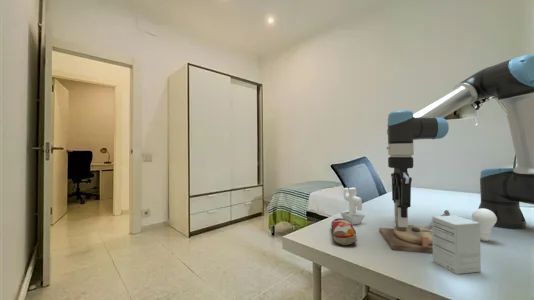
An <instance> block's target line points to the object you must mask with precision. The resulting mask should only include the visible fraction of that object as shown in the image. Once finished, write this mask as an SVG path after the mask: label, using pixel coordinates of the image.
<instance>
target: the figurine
mask: <svg viewBox="0 0 534 300" xmlns="http://www.w3.org/2000/svg"><path fill="white" fill-rule="evenodd" d="M357 193H358V192H357V188H356V187H349V188H348V187H344V188H343V198H344V200H345V201H347V202H348V211H347V212H340V215H341V217H342V219H346V220H349V221H350V222H351V223H352V225H360V224H361V223H362V222H363V220H364V218H365V217H366V215H365V214H363V213H359V212H357V211H362V209H363V200H362V198H361V197H360V196H357Z"/></svg>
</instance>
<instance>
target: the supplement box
mask: <svg viewBox="0 0 534 300" xmlns="http://www.w3.org/2000/svg"><path fill="white" fill-rule="evenodd" d="M431 218H432V220H431V221H432V222H431V223H432V234H433V253H432V261H433V262H434V263H436V264H437V265H439V266H441V267H443V268H444V269H447V270H448V271H450V272H452V273H454V274H456V275H460V274H461V275H463V274H468V273H481V271H482V270H481V269H482V265H481V264H482V263H481V261H482V260H481V256H482V255H481V239H480V223H478V222H475V221H474V220H473V219H468V218H464V217H460V216H457V215H455V214H453V215H450V216H441V215H440V216H439V215H438V216H432V217H431Z"/></svg>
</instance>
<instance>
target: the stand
mask: <svg viewBox="0 0 534 300" xmlns="http://www.w3.org/2000/svg"><path fill="white" fill-rule="evenodd" d="M378 231H379V233H380V234H381V236H382V237H383V239H384V240H385V242H386V243H387V244H388V246H389V248H391V250H392V251H400V252H409V253H410V252H412V253H423V254H433V244H428V247H423V246H422V244H417V243H412V242H408V241H405V240H402V239H399V238H398V237H396V236H395V235H394V227H393V228H391V227H388V228H387V227H379V228H378Z"/></svg>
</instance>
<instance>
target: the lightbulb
mask: <svg viewBox="0 0 534 300" xmlns="http://www.w3.org/2000/svg"><path fill="white" fill-rule="evenodd" d="M471 216H472V221H475V222H478V223H480V240H482V241H483V242H487V241H490V238H491V234H492V229H493V227H495V226H494V225H495V223H496V221H497V217H496V215H495V214H494V213H493V212H492V211H490V210H488V209H484V208H480V209H478V208H477V209H475V210H474V211H473V212H472V215H471Z"/></svg>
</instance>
